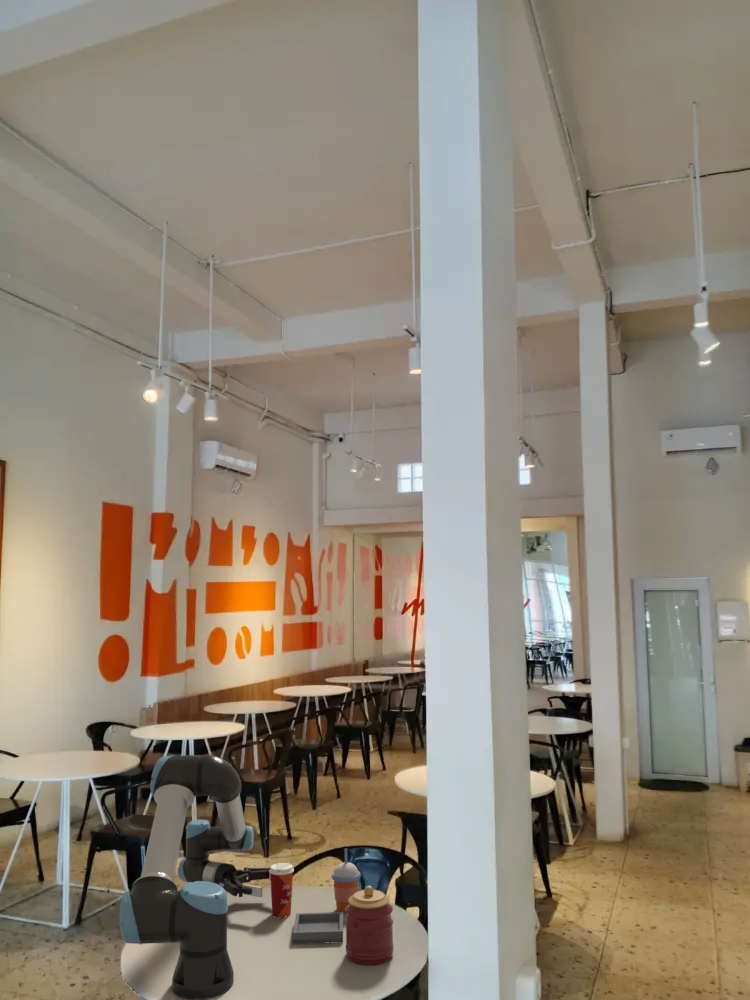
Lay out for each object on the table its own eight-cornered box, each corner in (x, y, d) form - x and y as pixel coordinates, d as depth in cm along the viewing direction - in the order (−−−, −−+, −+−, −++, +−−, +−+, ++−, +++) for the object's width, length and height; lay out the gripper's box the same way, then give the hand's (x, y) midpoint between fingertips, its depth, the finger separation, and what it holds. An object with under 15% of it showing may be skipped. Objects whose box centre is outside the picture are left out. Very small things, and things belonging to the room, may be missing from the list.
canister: (355, 969, 200) (354, 897, 202) (339, 949, 212) (338, 881, 214) (401, 960, 205) (400, 890, 207) (382, 941, 217) (381, 875, 219)
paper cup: (289, 919, 233) (289, 870, 235) (265, 918, 234) (265, 869, 236) (297, 909, 240) (297, 862, 242) (273, 908, 242) (274, 861, 244)
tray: (293, 944, 216) (292, 932, 216) (296, 924, 230) (296, 913, 230) (343, 942, 216) (342, 931, 217) (343, 922, 230) (343, 911, 230)
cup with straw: (366, 907, 241) (365, 847, 244) (350, 917, 234) (349, 855, 236) (342, 902, 246) (342, 842, 249) (326, 911, 239) (325, 850, 241)
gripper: (243, 875, 260) (296, 884, 251) (194, 900, 238) (250, 912, 229) (243, 852, 261) (296, 860, 252) (194, 875, 240) (250, 885, 230)
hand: (274, 885), depth 240 cm, fingers open, 13 cm apart
